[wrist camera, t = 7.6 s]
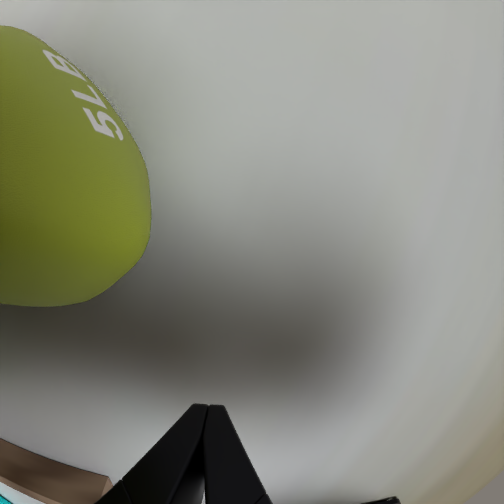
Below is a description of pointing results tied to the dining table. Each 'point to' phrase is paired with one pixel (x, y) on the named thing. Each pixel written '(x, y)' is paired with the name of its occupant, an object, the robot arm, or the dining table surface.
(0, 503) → the donuts
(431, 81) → the dining table surface
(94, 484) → the walnut corral
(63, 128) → the dumbbell
